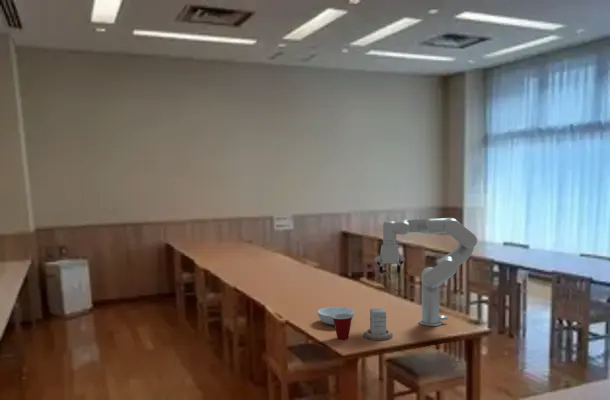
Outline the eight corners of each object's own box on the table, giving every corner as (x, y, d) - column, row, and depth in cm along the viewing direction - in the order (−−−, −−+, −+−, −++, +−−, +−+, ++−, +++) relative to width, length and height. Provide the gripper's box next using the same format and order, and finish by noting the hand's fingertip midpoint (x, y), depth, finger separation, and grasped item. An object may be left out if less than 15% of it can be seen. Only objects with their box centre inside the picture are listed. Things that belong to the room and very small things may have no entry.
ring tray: (389, 331, 277) (389, 327, 277) (395, 340, 262) (395, 335, 262) (361, 331, 276) (361, 327, 276) (366, 340, 261) (366, 336, 261)
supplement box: (369, 331, 273) (369, 308, 272) (383, 331, 273) (383, 308, 273) (372, 336, 265) (372, 312, 265) (386, 335, 266) (386, 311, 265)
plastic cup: (341, 333, 274) (341, 311, 274) (357, 337, 266) (357, 314, 266) (327, 338, 267) (327, 315, 266) (343, 342, 259) (343, 319, 258)
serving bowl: (357, 319, 301) (357, 307, 300) (350, 329, 281) (350, 317, 280) (322, 317, 306) (322, 305, 306) (313, 327, 286) (313, 314, 286)
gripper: (403, 241, 296) (403, 271, 297) (373, 242, 295) (373, 271, 296) (406, 243, 289) (406, 273, 290) (376, 244, 288) (376, 274, 289)
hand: (389, 272), depth 293 cm, fingers open, 9 cm apart
